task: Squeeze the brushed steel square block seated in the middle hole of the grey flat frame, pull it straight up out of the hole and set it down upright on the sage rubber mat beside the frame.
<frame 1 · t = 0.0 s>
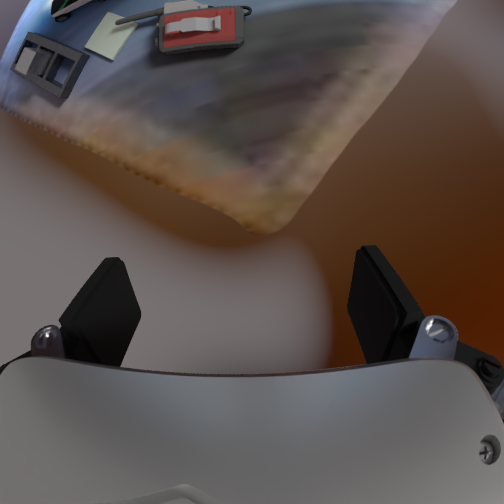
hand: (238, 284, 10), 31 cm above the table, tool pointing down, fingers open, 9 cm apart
steel block: (49, 62, 27), resting in grey flat frame
walkie-talkie: (181, 29, 28), on the table, touching sage mat
sage mat: (111, 35, 27), on the table
grey flat frame: (49, 62, 27), on the table
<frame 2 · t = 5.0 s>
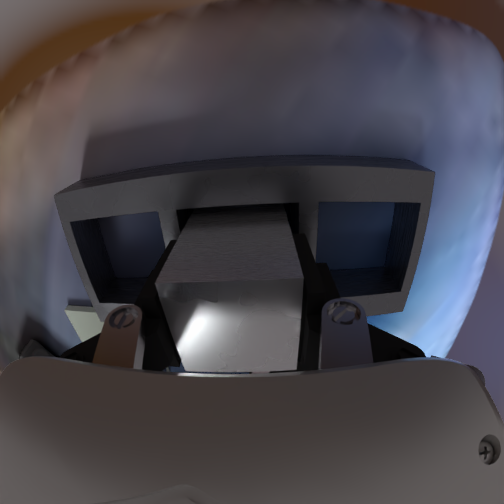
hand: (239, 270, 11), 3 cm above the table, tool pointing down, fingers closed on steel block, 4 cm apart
steel block: (242, 234, 14), resting in grey flat frame, touching gripper
walkie-talkie: (59, 366, 22), on the table, touching sage mat
sage mat: (118, 341, 19), on the table
grey flat frame: (242, 234, 14), on the table
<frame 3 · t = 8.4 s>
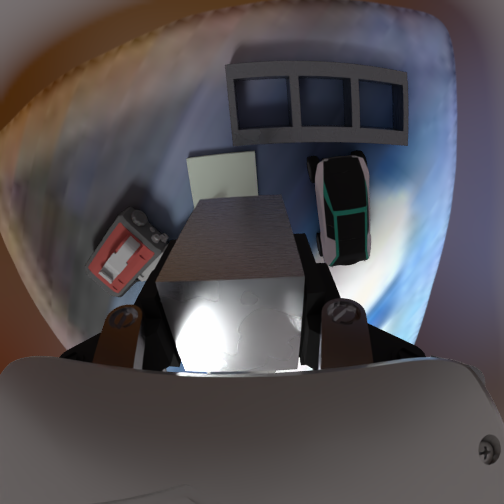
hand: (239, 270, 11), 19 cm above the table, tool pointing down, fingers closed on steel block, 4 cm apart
steel block: (243, 233, 14), point 15 cm above the table, touching gripper
walkie-talkie: (146, 239, 32), on the table, touching sage mat
sage mat: (224, 185, 28), on the table
grey flat frame: (320, 101, 24), on the table
toy car: (336, 201, 30), on the table
when the fingers open (5 cm above the table, at t = 12.1 s): steel block drops 1 cm, resting on sage mat.
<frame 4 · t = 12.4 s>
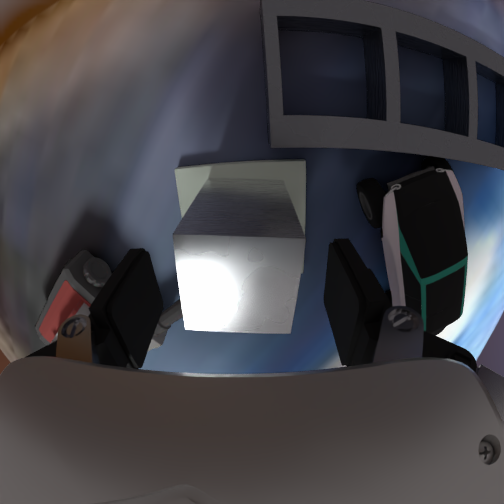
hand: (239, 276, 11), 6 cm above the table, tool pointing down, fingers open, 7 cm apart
steel block: (244, 213, 15), point 1 cm above the table, touching sage mat
walkie-talkie: (114, 297, 19), on the table, touching sage mat
sage mat: (243, 220, 16), on the table
grey flat frame: (414, 85, 11), on the table
toy car: (407, 241, 17), on the table
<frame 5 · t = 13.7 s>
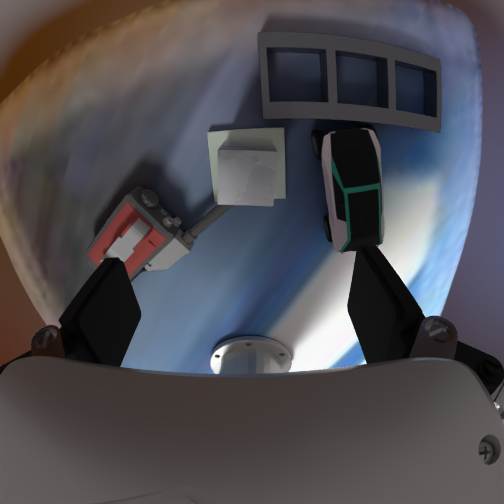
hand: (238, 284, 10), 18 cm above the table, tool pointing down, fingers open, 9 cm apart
steel block: (248, 158, 24), point 1 cm above the table, touching sage mat
walkie-talkie: (155, 223, 28), on the table, touching sage mat
sage mat: (247, 164, 25), on the table
grey flat frame: (353, 80, 21), on the table
toy car: (345, 181, 26), on the table
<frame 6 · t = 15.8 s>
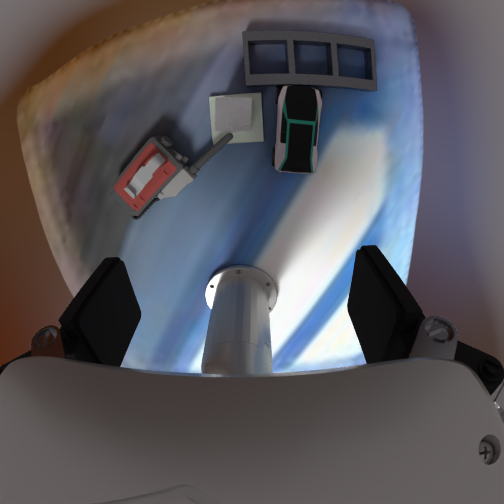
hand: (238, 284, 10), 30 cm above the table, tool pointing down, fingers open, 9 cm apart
steel block: (236, 113, 33), point 1 cm above the table, touching sage mat
walkie-talkie: (168, 163, 37), on the table, touching sage mat
sage mat: (236, 118, 34), on the table
grey flat frame: (309, 60, 30), on the table
toy car: (294, 127, 35), on the table
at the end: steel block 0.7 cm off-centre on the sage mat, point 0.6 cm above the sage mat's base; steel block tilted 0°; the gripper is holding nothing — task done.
